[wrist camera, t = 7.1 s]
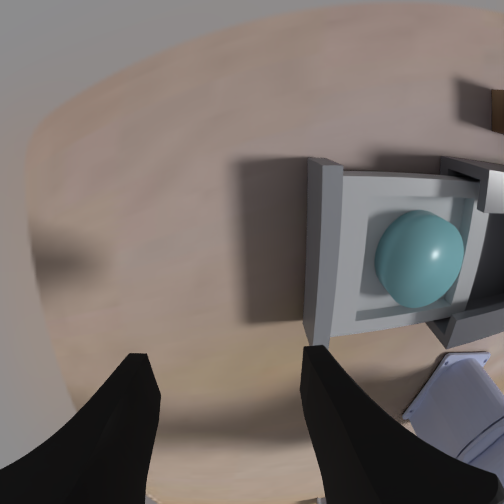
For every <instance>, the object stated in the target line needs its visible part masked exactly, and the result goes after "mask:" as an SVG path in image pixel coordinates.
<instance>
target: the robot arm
mask: <svg viewBox="0 0 504 504" xmlns="http://www.w3.org/2000/svg"><path fill="white" fill-rule="evenodd" d="M490 355H491V354H490V353H489V352H474V353H448V354H446V355H445V356H444V358H443V360H442V361H441V363H440V364H439V366H438V367H437V369H436V370H435V372H434V373H433V375H432V376H431V377H430V379H429V380H428V382H427V383H426V385H425V386H424V387H423V389H422V390H421V392H420V393H419V394H418V396H417V397H416V398H415V400H414V401H413V402H412V404H411V405H410V406H409V407H408V409H407V410H406V411H405V412H404V414H403V415H402V418H403V419H409V420H410V423H411V425H412V427H413V429H414V431H415V433H416V435H417V436H416V435H414V434H413V433H412V432H410V431H409V430H407V429H406V428H405V427H403V426H402V425H401V424H399V423H398V422H397V421H396V420H394V419H393V418H392V417H391V416H390V415H388V414H387V413H386V412H385V411H384V410H383V409H382V408H381V407H380V406H378V405H377V404H376V403H375V402H374V401H373V400H372V399H371V398H370V397H369V396H368V395H367V394H366V393H365V392H364V391H363V390H362V389H361V388H360V387H359V386H358V385H357V384H356V383H355V381H354V380H353V379H352V378H351V377H350V376H349V375H348V374H347V373H346V371H345V370H344V369H343V368H342V367H341V366H340V364H339V363H338V362H337V361H336V360H335V358H334V357H333V356H332V355H331V353H330V352H329V351H328V350H327V348H326V347H325V346H324V345H315V346H305V347H304V349H303V361H302V372H301V383H300V393H301V399H302V406H303V411H304V417H305V420H306V424H307V427H308V430H309V434H310V437H311V441H312V444H313V447H314V451H315V454H316V458H317V461H318V464H319V468H320V471H321V476H322V480H323V485H324V491H325V497H326V503H327V504H504V395H503V394H502V392H501V391H500V390H499V388H498V387H497V386H496V384H495V383H494V382H493V380H492V379H491V378H490V376H489V375H488V374H487V372H486V371H485V370H484V368H483V366H484V365H485V364H486V362H487V361H488V359H489V357H490ZM160 401H161V393H160V391H159V388H158V385H157V382H156V379H155V377H154V374H153V371H152V368H151V365H150V362H149V359H148V356H147V354H141V353H129V355H128V356H127V357H126V358H125V359H124V360H123V361H122V362H121V364H120V365H119V366H118V367H117V368H116V370H115V371H114V372H113V373H112V374H111V375H110V377H109V378H108V379H107V380H106V381H105V383H104V384H103V385H102V386H101V387H100V388H99V389H98V391H97V392H96V393H95V394H94V395H93V396H92V397H91V399H90V400H89V401H88V402H87V403H86V404H85V405H84V406H83V407H82V408H81V409H80V410H79V411H78V412H77V413H76V414H75V415H74V416H73V417H72V419H70V420H69V421H68V422H67V423H66V424H65V425H64V426H63V427H62V428H61V429H59V430H58V431H57V432H56V433H55V434H54V435H52V436H51V437H50V438H49V439H48V440H46V441H45V442H44V443H42V444H41V445H39V446H38V447H37V448H35V449H34V450H33V451H31V452H30V453H28V454H27V455H25V456H24V457H22V458H20V459H19V460H17V461H15V462H14V463H12V464H10V465H8V466H6V467H4V468H3V469H0V504H145V493H146V482H147V475H148V470H149V465H150V460H151V455H152V450H153V446H154V441H155V436H156V431H157V427H158V422H159V412H160Z"/></svg>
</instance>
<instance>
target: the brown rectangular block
mask: <svg viewBox="0 0 504 504" xmlns="http://www.w3.org/2000/svg"><path fill="white" fill-rule="evenodd" d="M492 131H494V132H497V133H501V134H504V90H492Z"/></svg>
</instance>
